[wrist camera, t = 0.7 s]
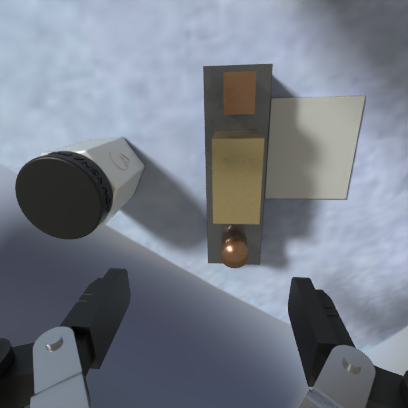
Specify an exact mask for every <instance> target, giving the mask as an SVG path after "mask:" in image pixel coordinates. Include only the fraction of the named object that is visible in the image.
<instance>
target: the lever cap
mask: <svg viewBox="0 0 408 408" xmlns="http://www.w3.org/2000/svg"><path fill="white" fill-rule="evenodd" d="M263 154H264V137H263V136H262V135H261V134H260V133H259V131H231V132H214V135H213V137H212V186H213V224H259V222H260V205H261V188H262V171H263Z"/></svg>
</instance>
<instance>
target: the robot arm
mask: <svg viewBox="0 0 408 408" xmlns="http://www.w3.org/2000/svg"><path fill="white" fill-rule="evenodd" d="M129 303H130V287H129V280H128V273H127V270H126V269H119V268H110V269H109V270H108V272H107V273H106V275H105V276H104V278H98V279H97V280H95V281H94V282H93V283H91V284H90V285H89V286H88V288H87V289H86V290H85V292H84V293H83V295H82V296H81V297H80V298H79V301H78V302H77V303H76V304H75V305H74V307H73V308H72V310H71V311H70V312H69V314H68V315H67V317H66V318H65V319H64V321H63V322H62V324H61V325H60V326H59V327H57V328H53V329H51V330H49V331H47V332H45V333H44V334H42V335H41V336H40V337H39V338H38V339H37V341H36V342H35V343H30V344H26V345H21V346H16V347H12V346H11V343H10V341H9V340H7V339H3V338H0V408H24V407H25V406H26V405H30V406H31V408H93V407H92V403H91V398H90V393H89V389H88V385H87V380H86V375H87V373H88V371H89V369H90V368H93V369H100V367H101V364H102V362H103V360H104V358H105V356H106V354H107V352H108V349H109V347H110V345H111V343H112V341H113V338H114V336H115V334H116V332H117V330H118V328H119V326H120V323H121V321H122V319H123V317H124V315H125V312H126V311H127V308H128V306H129ZM288 313H289V318H290V322H291V325H292V329H293V333H294V336H295V340H296V344H297V347H298V351H299V354H300V358H301V361H302V366H303V369H304V373H305V377H306V380H307V384H308V386H309V387H313V389H312V390H309V391H308V392H307V394H306V395H305V398H304V399H303V401H302V403H301V405H300V407H299V408H408V371H406V373H405V374H404V376H401V375H398V374H396V373H392V372H390V371H387V370H384V369H381V368H379V367H377V366H374V365H373V363H372V361H371V360H370V359H369V358H368V357H367V356H366V355H365V354H364V353H363V352H361V351H360V350H358V349H356V348H355V346H354V344H353V342H352V340H351V338H350V336H349V334H348V332H347V330H346V328H345V326H344V324H343V322H342V320H341V318H340V317H339V314H338V312H337V310H336V308H335V306H334V304H333V302H332V300H331V298H330V297H329V296H328V295H327V294H326V293H325V292H324V291H323V290H316V289H315V288H314V286H313V284H312V281H311V279H310V278H301V277H293V278H292V281H291V287H290V294H289V300H288Z"/></svg>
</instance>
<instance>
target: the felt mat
mask: <svg viewBox="0 0 408 408" xmlns="http://www.w3.org/2000/svg"><path fill="white" fill-rule="evenodd" d="M364 100H365V96H337V97H300V98H271V107H270V123H269V138H268V154H267V169H266V185H265V198H301V199H346V195H347V190H348V185H349V179H350V174H351V169H352V163H353V158H354V153H355V147H356V142H357V137H358V131H359V126H360V121H361V116H362V110H363V105H364Z"/></svg>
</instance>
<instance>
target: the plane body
mask: <svg viewBox="0 0 408 408" xmlns="http://www.w3.org/2000/svg"><path fill="white" fill-rule="evenodd" d="M272 65H273V64H254V65H228V66H203V71H204V113H205V155H206V198H207V240H208V263H223V264H225V265H226V266H228V267H230V268H240V267H242V266H244V265H245V264H258V265H260V253H261V238H262V222H263V206H264V190H265V175H266V159H267V143H268V128H269V112H270V96H271V80H272ZM231 131H259V133H260V134H261V135H262V136H263V137H264V154H263V171H262V188H261V205H260V222H259V224H213V186H212V137H213V135H214V132H231Z"/></svg>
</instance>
